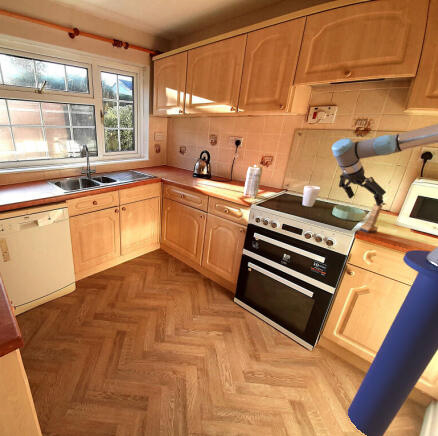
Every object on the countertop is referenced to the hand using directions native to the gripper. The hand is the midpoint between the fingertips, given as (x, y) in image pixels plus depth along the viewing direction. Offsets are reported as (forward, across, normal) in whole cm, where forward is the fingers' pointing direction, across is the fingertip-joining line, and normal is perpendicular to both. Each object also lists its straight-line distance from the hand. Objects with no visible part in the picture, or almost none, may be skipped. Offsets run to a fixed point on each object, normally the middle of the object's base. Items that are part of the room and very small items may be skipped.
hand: (365, 200), depth 121 cm
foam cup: (+22, -45, 0) cm, 50 cm away
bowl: (+27, -21, +3) cm, 34 cm away
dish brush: (+20, -1, -4) cm, 21 cm away
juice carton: (+2, -70, -21) cm, 73 cm away
